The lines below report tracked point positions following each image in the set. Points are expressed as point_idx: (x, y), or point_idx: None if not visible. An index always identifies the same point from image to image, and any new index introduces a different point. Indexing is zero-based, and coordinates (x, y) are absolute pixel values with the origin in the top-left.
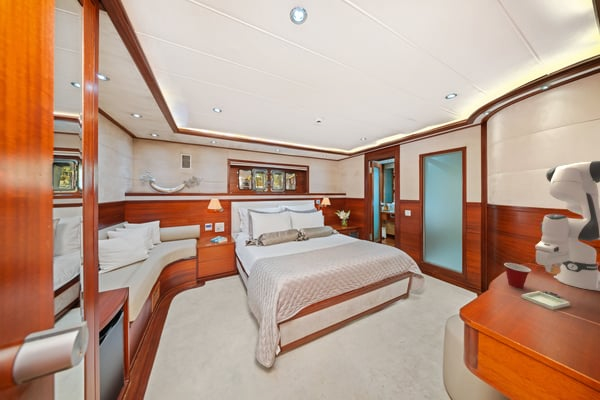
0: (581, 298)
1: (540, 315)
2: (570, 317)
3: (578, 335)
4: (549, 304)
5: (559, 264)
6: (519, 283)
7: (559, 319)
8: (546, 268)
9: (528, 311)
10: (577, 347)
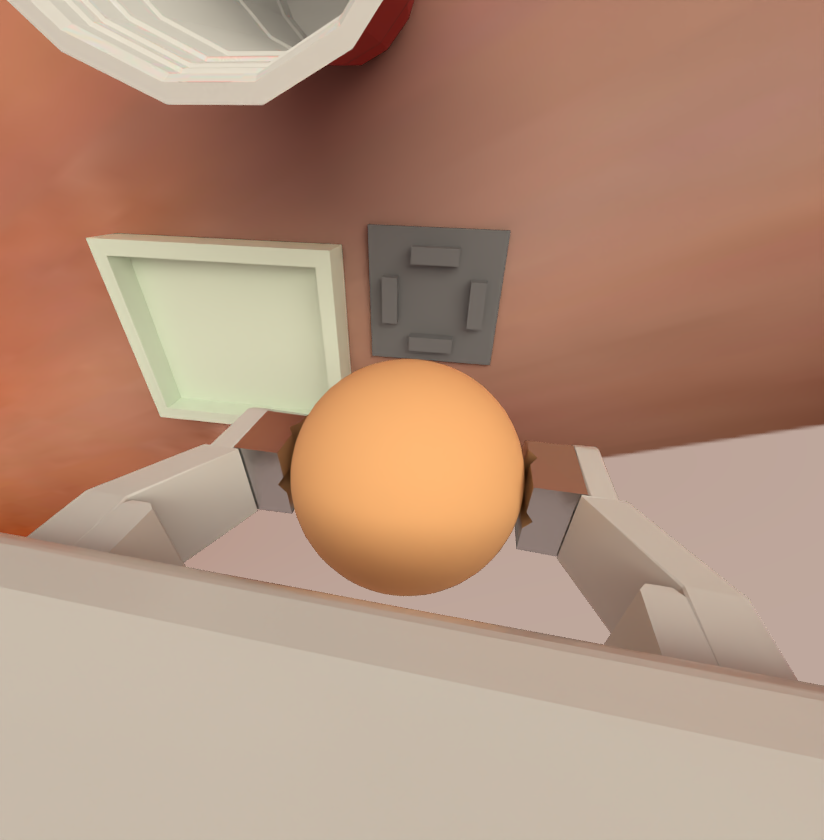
0: (611, 408)
1: (63, 399)
2: None
3: None
4: (220, 375)
5: (617, 616)
6: (271, 35)
7: (131, 446)
8: (220, 449)
9: (24, 357)
10: (28, 517)
